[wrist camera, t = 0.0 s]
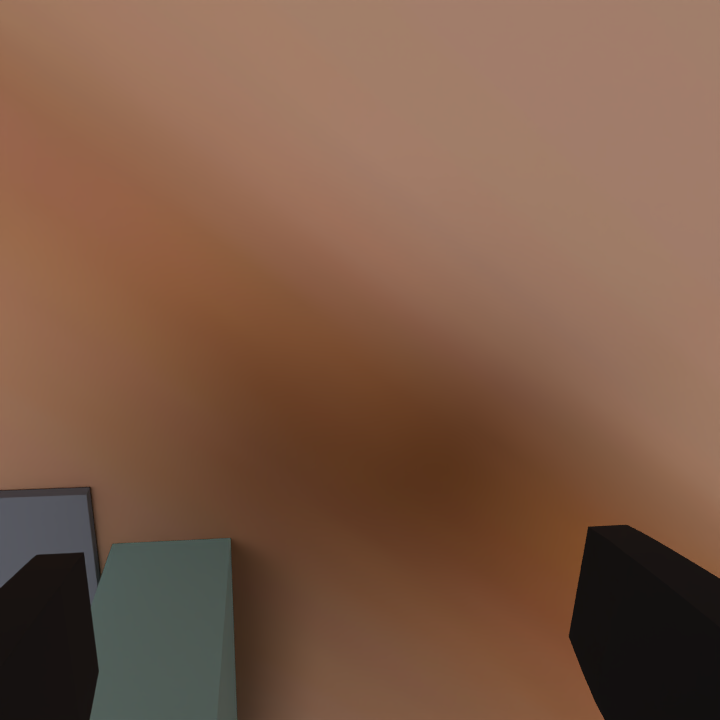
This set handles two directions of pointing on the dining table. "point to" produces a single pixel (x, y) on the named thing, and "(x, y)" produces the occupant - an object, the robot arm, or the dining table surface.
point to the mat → (47, 529)
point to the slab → (165, 632)
